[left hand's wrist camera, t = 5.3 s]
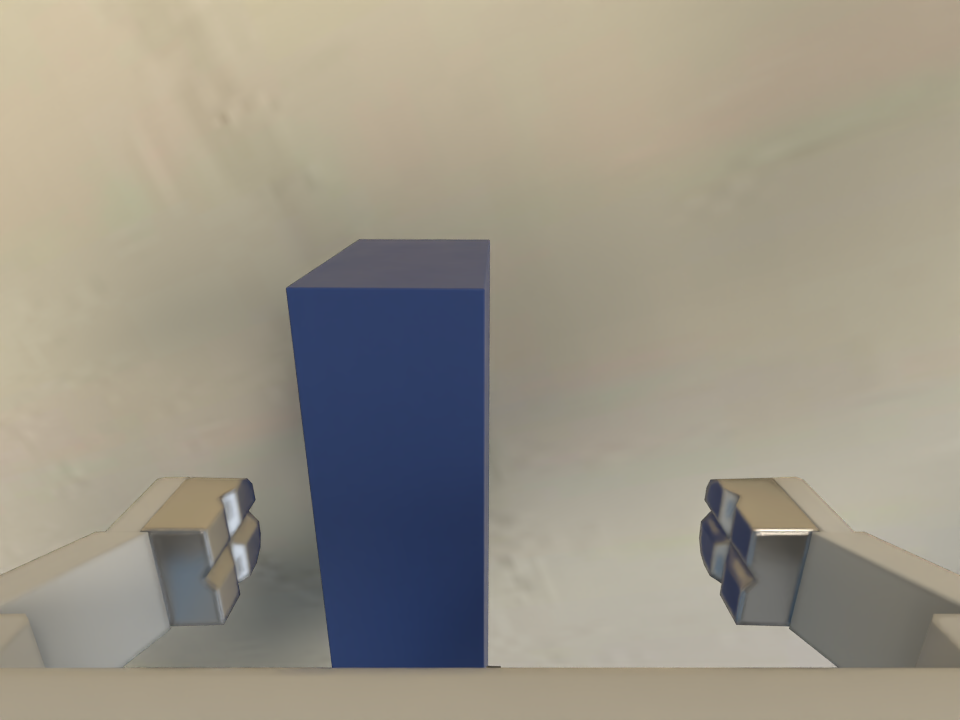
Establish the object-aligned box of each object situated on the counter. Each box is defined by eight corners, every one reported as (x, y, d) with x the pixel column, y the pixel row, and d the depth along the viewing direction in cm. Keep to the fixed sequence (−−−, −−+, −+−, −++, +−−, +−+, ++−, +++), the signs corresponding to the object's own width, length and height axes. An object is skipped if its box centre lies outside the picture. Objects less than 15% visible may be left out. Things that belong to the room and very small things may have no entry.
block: (358, 239, 24) (285, 287, 16) (489, 239, 24) (484, 288, 16) (389, 661, 32) (352, 838, 24) (487, 663, 32) (484, 842, 24)
